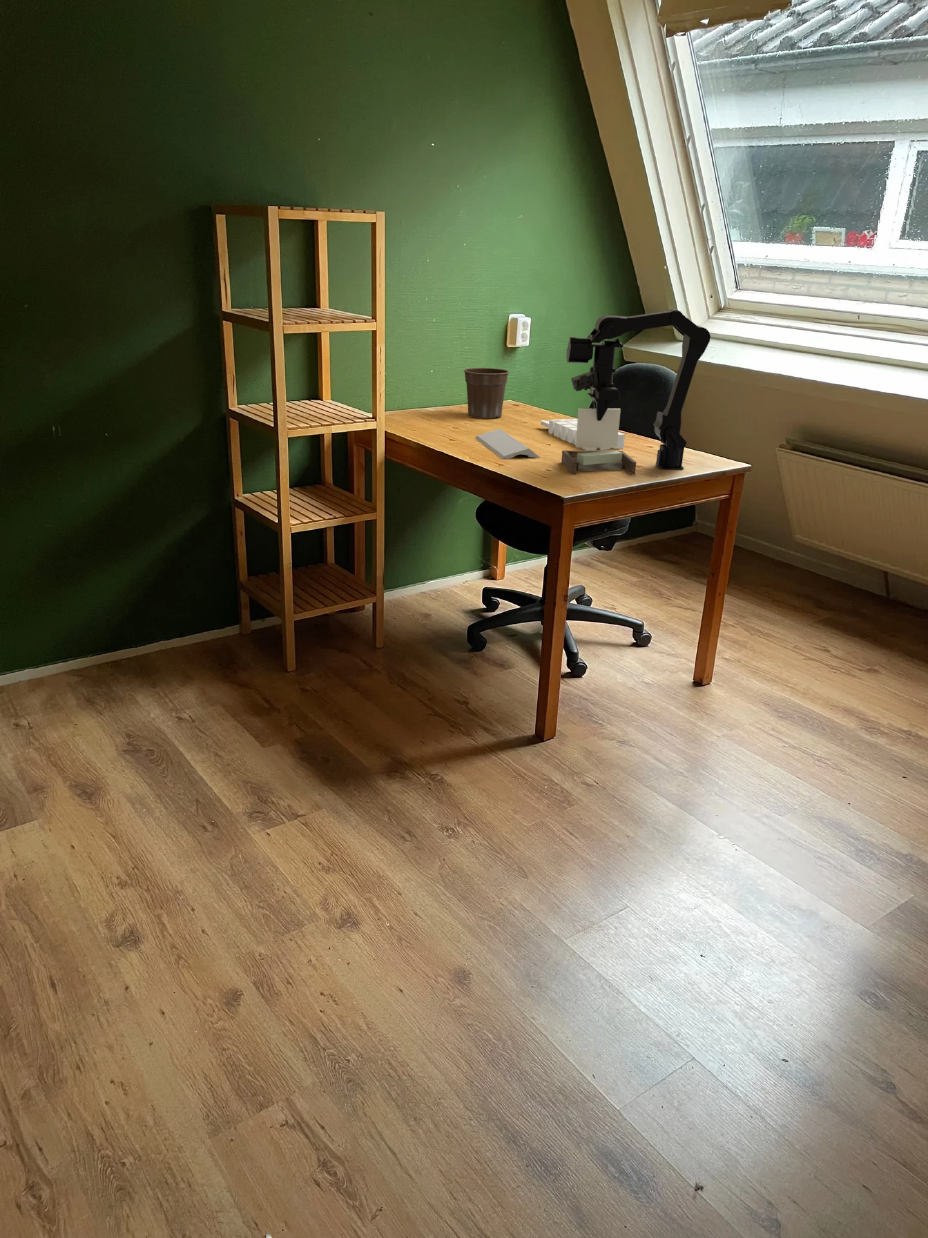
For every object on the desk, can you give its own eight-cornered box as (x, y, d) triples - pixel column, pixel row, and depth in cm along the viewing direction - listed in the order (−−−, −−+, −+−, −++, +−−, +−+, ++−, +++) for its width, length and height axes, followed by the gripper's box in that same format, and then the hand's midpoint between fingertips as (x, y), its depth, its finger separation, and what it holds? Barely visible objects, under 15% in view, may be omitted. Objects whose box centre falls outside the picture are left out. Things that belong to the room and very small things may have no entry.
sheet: (616, 447, 261) (619, 408, 256) (616, 447, 260) (620, 409, 255) (575, 446, 259) (578, 408, 255) (576, 447, 258) (579, 408, 254)
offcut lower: (617, 468, 261) (618, 460, 260) (621, 471, 258) (622, 462, 257) (574, 469, 258) (574, 460, 257) (577, 472, 255) (578, 463, 254)
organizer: (588, 436, 278) (538, 415, 308) (586, 451, 280) (537, 429, 309) (625, 434, 282) (572, 413, 312) (623, 449, 284) (571, 427, 314)
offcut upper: (614, 458, 261) (615, 450, 260) (621, 461, 258) (622, 452, 257) (576, 462, 256) (577, 453, 255) (583, 464, 253) (584, 456, 252)
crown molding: (474, 439, 291) (475, 428, 290) (510, 439, 294) (511, 428, 293) (502, 461, 265) (503, 449, 264) (541, 460, 269) (542, 448, 267)
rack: (621, 462, 266) (622, 450, 264) (635, 474, 253) (636, 462, 252) (561, 462, 264) (562, 450, 262) (572, 474, 251) (573, 461, 249)
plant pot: (458, 411, 333) (459, 366, 326) (501, 411, 336) (503, 367, 329) (466, 420, 318) (468, 373, 312) (511, 420, 321) (513, 373, 315)
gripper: (567, 358, 258) (563, 413, 264) (583, 367, 241) (578, 426, 247) (605, 359, 259) (600, 414, 265) (623, 368, 242) (618, 426, 248)
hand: (598, 420), depth 256 cm, fingers closed on sheet, 1 cm apart
